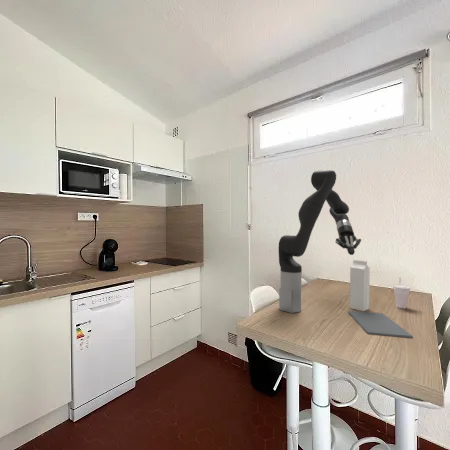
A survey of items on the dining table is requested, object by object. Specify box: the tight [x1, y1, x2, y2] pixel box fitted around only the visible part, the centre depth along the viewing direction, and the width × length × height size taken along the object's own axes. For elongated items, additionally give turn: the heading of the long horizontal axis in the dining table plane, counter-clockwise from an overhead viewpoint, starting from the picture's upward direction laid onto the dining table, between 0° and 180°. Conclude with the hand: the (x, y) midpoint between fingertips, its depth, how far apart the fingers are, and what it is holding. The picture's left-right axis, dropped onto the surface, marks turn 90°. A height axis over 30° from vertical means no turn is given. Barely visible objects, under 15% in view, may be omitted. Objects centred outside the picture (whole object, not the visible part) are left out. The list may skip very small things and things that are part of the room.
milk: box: [349, 259, 371, 312], centre depth 110 cm, size 6×6×22 cm
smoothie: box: [392, 276, 411, 310], centre depth 113 cm, size 6×6×14 cm
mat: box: [347, 310, 414, 339], centre depth 93 cm, size 22×14×1 cm, turn 169°
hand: (351, 253), depth 121 cm, fingers closed
